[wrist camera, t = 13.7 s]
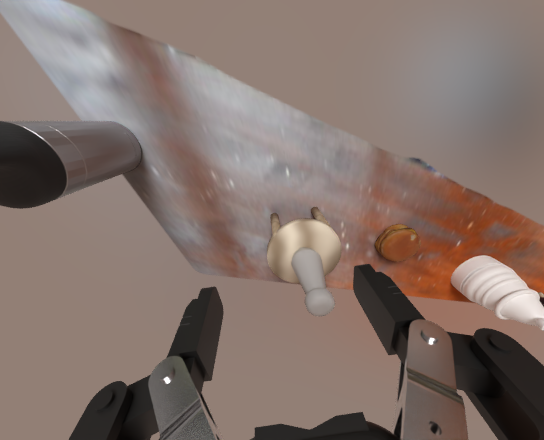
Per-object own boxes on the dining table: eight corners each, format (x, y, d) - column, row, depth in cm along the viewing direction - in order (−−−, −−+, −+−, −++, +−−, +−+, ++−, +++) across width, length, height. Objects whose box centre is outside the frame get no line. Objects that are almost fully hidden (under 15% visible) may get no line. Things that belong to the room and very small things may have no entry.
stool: (270, 259, 53) (272, 288, 44) (261, 207, 46) (261, 228, 37) (326, 251, 53) (340, 277, 44) (325, 197, 46) (342, 216, 37)
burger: (370, 253, 54) (379, 264, 50) (380, 222, 50) (392, 232, 46) (404, 254, 55) (416, 265, 51) (417, 224, 51) (432, 233, 47)
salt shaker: (322, 247, 40) (349, 298, 28) (311, 269, 42) (332, 325, 31) (295, 240, 39) (311, 291, 27) (285, 263, 41) (296, 319, 29)
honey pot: (441, 280, 60) (509, 338, 44) (479, 248, 56) (569, 300, 40) (467, 294, 64) (537, 353, 48) (504, 266, 59) (596, 320, 43)
